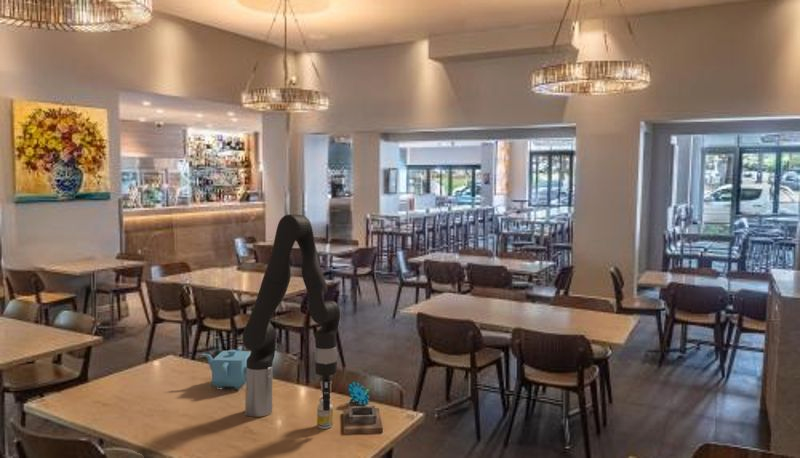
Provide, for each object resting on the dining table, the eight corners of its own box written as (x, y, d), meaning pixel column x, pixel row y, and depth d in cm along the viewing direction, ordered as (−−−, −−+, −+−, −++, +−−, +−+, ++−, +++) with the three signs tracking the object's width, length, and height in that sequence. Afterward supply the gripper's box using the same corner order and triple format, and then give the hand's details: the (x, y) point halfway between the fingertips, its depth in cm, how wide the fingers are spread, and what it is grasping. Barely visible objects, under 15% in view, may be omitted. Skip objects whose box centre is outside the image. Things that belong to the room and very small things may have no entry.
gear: (358, 405, 216) (345, 382, 221) (348, 414, 218) (336, 391, 223) (376, 401, 225) (364, 379, 230) (366, 409, 227) (355, 387, 232)
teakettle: (222, 396, 228) (222, 359, 227) (200, 384, 242) (200, 349, 241) (264, 385, 242) (264, 350, 241) (241, 374, 255) (241, 341, 254)
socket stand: (344, 433, 195) (344, 421, 195) (343, 413, 213) (343, 402, 212) (382, 432, 196) (382, 420, 196) (378, 412, 214) (378, 401, 214)
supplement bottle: (324, 430, 197) (324, 402, 197) (313, 426, 201) (314, 399, 200) (335, 425, 201) (336, 398, 201) (325, 421, 205) (325, 395, 204)
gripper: (315, 354, 206) (316, 398, 207) (314, 365, 192) (315, 413, 193) (336, 353, 207) (337, 398, 208) (337, 365, 193) (337, 412, 194)
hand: (326, 405), depth 201 cm, fingers open, 8 cm apart
